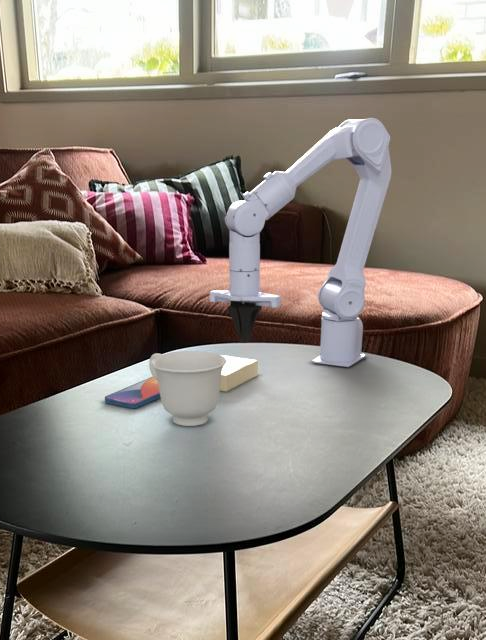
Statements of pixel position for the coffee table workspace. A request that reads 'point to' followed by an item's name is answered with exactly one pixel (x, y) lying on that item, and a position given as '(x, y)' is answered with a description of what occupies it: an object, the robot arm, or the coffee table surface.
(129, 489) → the coffee table surface
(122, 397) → the smartphone
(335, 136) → the robot arm
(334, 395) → the coffee table surface
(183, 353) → the teacup
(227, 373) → the book
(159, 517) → the coffee table surface
